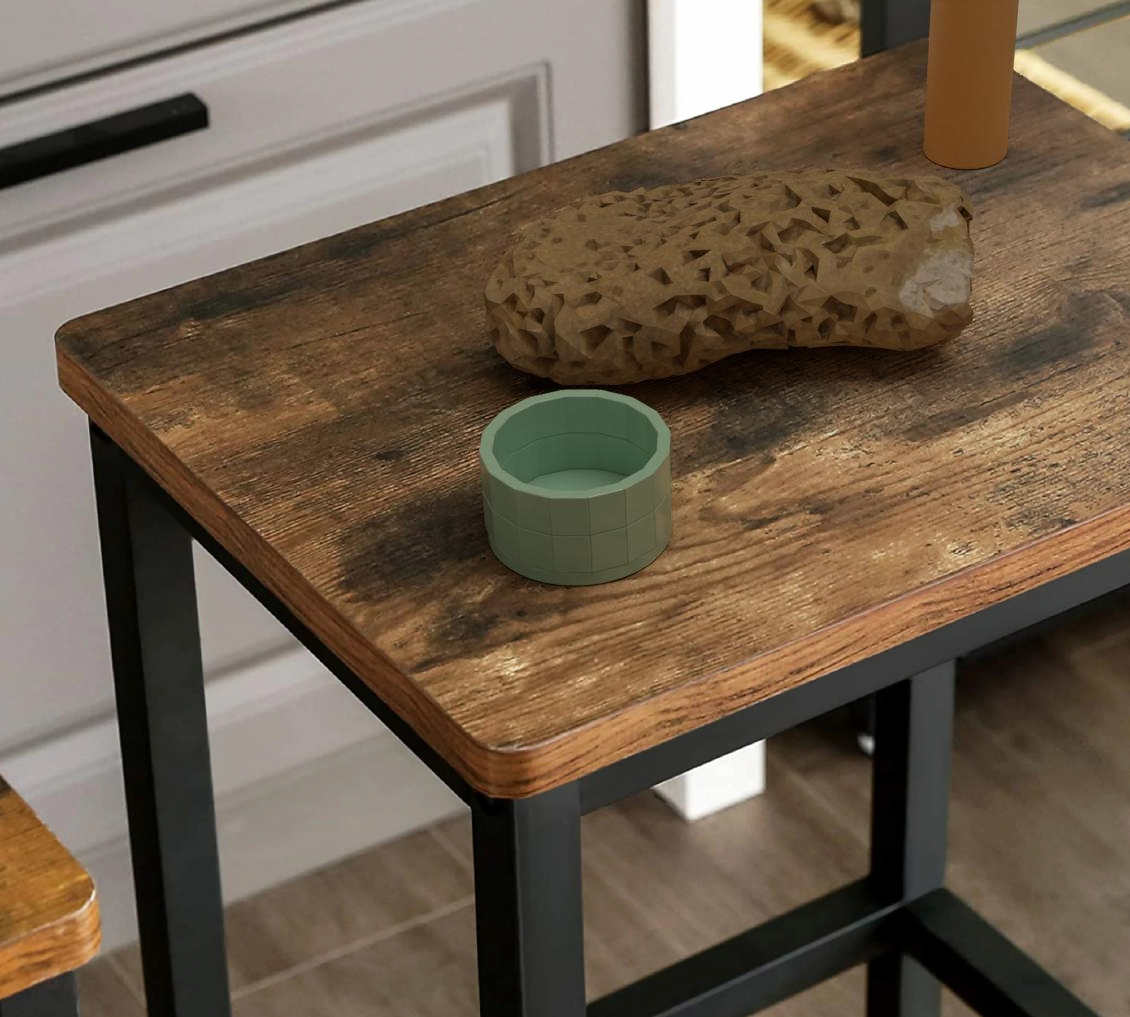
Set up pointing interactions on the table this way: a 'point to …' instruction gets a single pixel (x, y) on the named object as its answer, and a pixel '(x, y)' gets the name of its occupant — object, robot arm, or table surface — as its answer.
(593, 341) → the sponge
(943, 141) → the tall orange cylinder
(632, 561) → the green ceramic dish
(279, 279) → the table surface
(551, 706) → the table surface
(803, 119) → the table surface
